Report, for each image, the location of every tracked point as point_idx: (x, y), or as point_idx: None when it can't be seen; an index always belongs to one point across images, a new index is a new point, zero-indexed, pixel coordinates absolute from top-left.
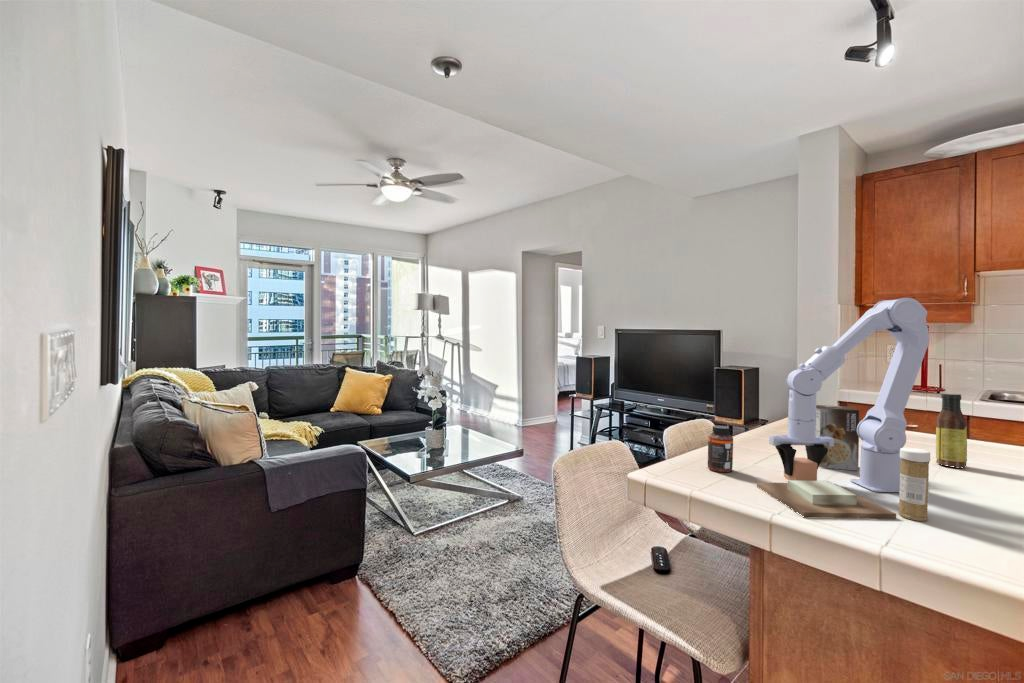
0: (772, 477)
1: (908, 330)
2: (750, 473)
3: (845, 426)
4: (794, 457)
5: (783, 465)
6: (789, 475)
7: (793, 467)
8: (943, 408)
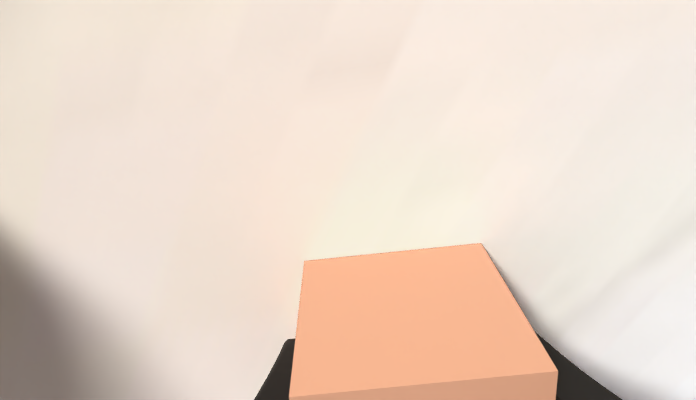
0: (203, 277)
1: None
2: (29, 193)
3: None
4: (421, 385)
5: (264, 387)
6: None
7: None
8: None
